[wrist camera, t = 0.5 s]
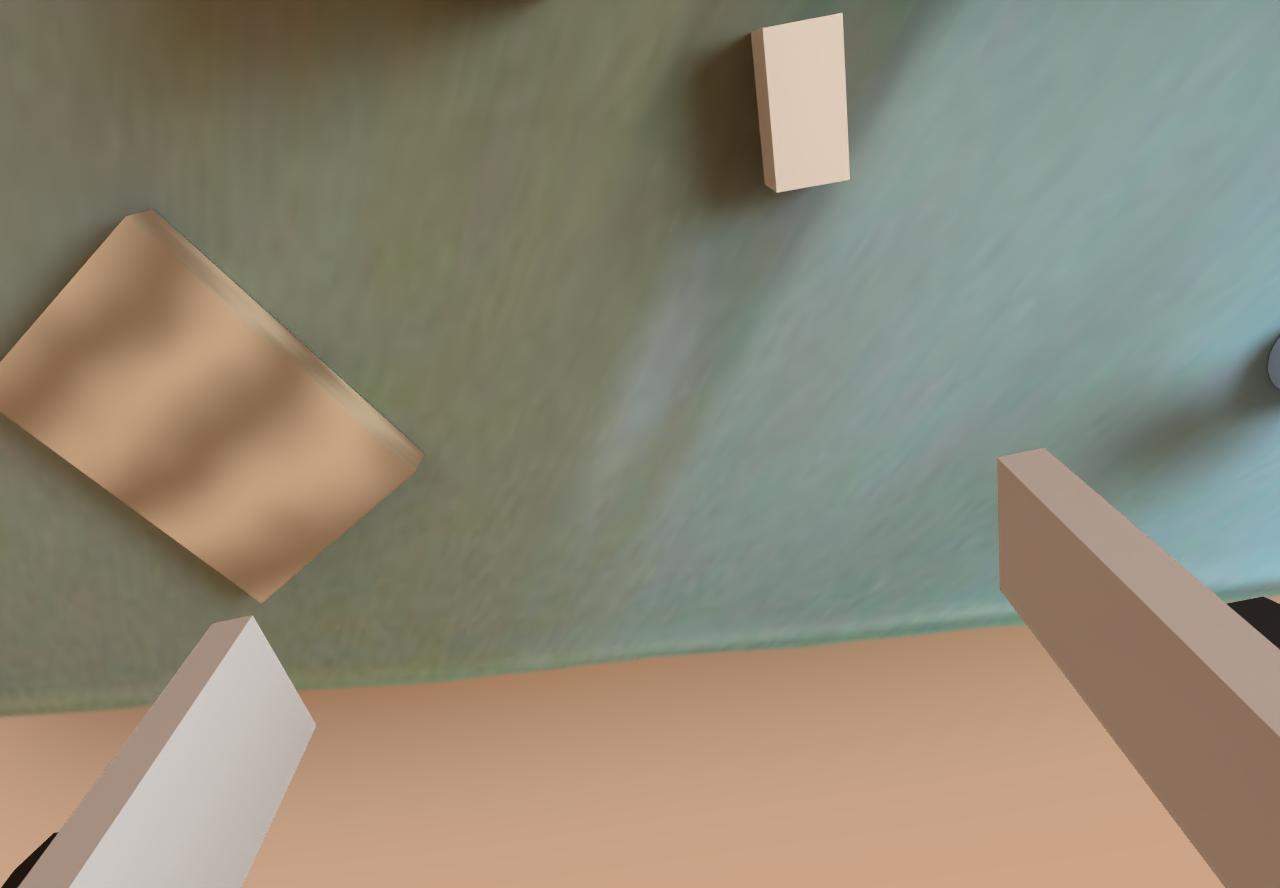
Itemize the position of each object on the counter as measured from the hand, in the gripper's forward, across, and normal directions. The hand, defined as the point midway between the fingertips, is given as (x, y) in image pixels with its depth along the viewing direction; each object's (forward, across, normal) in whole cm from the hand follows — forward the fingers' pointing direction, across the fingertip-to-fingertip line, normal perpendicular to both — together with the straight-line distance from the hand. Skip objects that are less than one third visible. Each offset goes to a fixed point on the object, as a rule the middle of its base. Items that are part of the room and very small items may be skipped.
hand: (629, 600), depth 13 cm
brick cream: (+24, +9, +5) cm, 26 cm away
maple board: (+24, -21, -2) cm, 32 cm away
